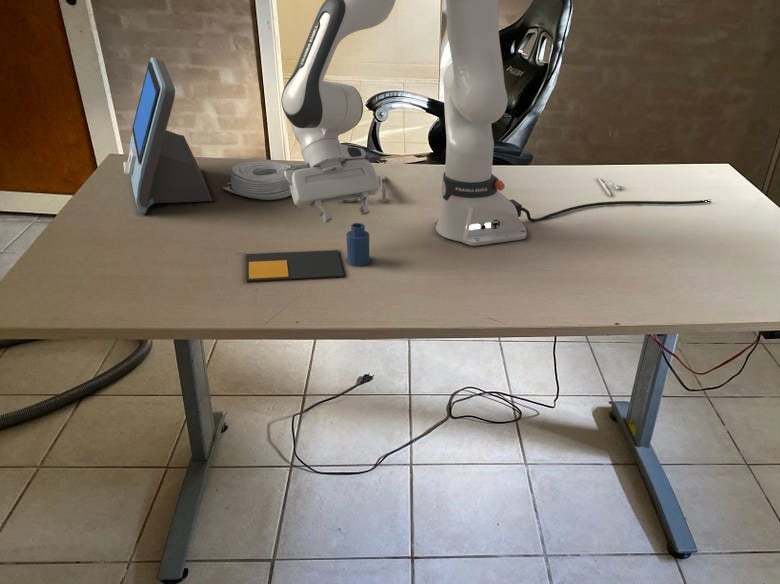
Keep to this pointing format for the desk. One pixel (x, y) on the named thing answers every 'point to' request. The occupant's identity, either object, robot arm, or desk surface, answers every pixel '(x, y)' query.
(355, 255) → the vase
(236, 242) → the desk surface
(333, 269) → the desk mat
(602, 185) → the picture light
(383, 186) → the caliper
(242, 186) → the cable
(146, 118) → the touchscreen device
